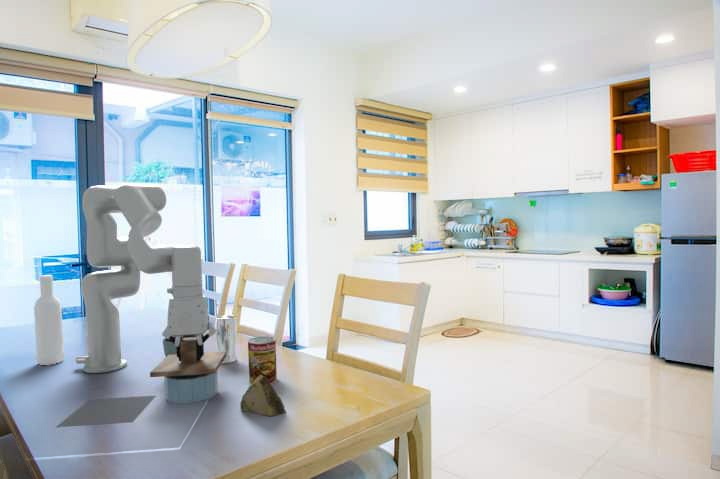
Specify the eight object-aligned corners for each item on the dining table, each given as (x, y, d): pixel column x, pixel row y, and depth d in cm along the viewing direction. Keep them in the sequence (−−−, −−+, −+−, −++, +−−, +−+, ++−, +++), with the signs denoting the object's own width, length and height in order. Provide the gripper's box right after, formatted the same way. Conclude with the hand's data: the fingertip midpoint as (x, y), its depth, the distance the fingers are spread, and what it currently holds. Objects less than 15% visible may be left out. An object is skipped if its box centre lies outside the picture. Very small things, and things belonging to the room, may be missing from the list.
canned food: (253, 386, 134) (251, 344, 134) (246, 378, 141) (244, 338, 141) (280, 381, 138) (278, 340, 138) (272, 374, 145) (270, 335, 145)
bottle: (67, 361, 164) (62, 275, 163) (40, 367, 158) (35, 277, 157) (60, 357, 170) (55, 273, 168) (34, 363, 164) (29, 276, 163)
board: (55, 428, 110) (55, 427, 110) (89, 400, 127) (89, 399, 127) (132, 423, 112) (132, 421, 112) (156, 396, 129) (156, 395, 129)
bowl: (159, 406, 122) (158, 381, 122) (174, 388, 135) (173, 365, 135) (211, 402, 123) (210, 378, 123) (221, 385, 136) (220, 363, 136)
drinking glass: (206, 372, 148) (205, 334, 148) (184, 383, 139) (183, 342, 138) (179, 370, 152) (178, 332, 151) (156, 380, 142) (155, 340, 142)
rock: (227, 402, 117) (244, 409, 109) (244, 370, 121) (262, 374, 113) (261, 420, 122) (280, 427, 114) (277, 388, 126) (296, 393, 118)
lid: (150, 377, 120) (148, 348, 120) (168, 358, 136) (167, 333, 135) (215, 373, 121) (214, 345, 121) (226, 355, 137) (225, 330, 137)
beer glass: (232, 364, 156) (230, 319, 155) (212, 363, 158) (210, 318, 157) (241, 358, 163) (239, 314, 162) (222, 357, 164) (221, 314, 164)
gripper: (150, 295, 123) (153, 365, 124) (217, 292, 125) (219, 361, 126) (159, 291, 131) (162, 357, 131) (222, 288, 132) (224, 353, 133)
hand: (190, 358), depth 129 cm, fingers closed on lid, 4 cm apart
